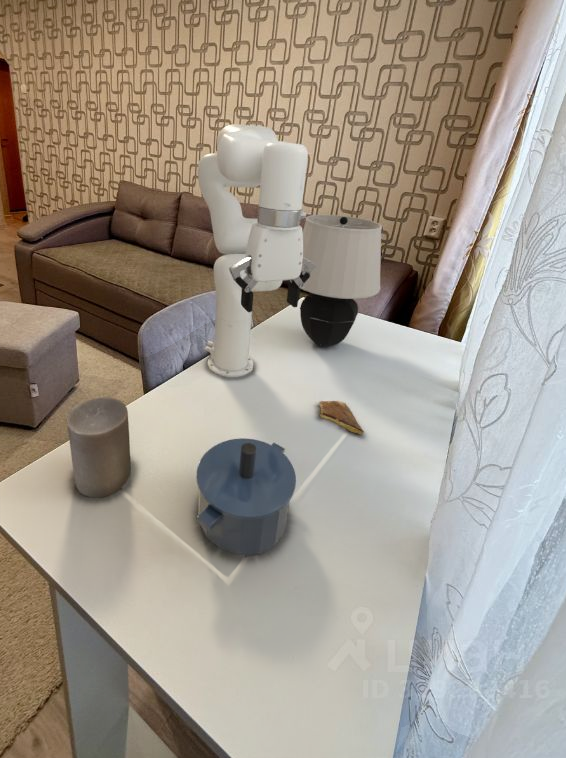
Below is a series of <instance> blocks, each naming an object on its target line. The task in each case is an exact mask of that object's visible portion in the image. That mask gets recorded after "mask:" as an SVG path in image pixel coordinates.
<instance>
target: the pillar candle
mask: <svg viewBox="0 0 566 758" xmlns="http://www.w3.org/2000/svg"><path fill="white" fill-rule="evenodd" d="M66 418H67V419H66V426H67V433H68V440H69V448H70V456H71V463H72V472H73V477H74V478H73V479H74V485H75V487H76V489H77V491H78V492H79V493H80V494H81V495H83V496H85V497H88V498H103V497H108V496H110V495H113V494H115V493H117V492H119V491H120V490H122V488H123V487H124V485H125V484H126V483H127V482H128V480H129V478H130V476H131V472H132V471H131V470H132V469H131V467H132V466H131V444H130V443H131V441H130V429H129V428H130V425H129V411H128V407H127V406H126V404H125V403H124V402H122V401H121V400H119V399H117V398H113V397H97V398H91V399H88V400H85V401H83V402H81V403H77V404H76V405H75V406H73V408H71V410H70V411H69V414H68V415H67V416H66Z"/></svg>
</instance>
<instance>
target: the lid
mask: <svg viewBox="0 0 566 758" xmlns="http://www.w3.org/2000/svg"><path fill="white" fill-rule="evenodd" d="M195 477H196V478H195V479H196V485H197V489H198V492H199V491H200V493H201V495H202V496H203V498H204V499H205V500H206V502H207V503H208V504H209V505H210V506H212V507H213V508H214V509H216V510H217V511H219V512H221V513H223V514H225V515H228V516H230V517H234V518H239V519H260V518H264V517H268V516H270V515H273V514H275V513H276V512H278V511H280V510H281V509H282V508H284V507H285V506H286V505H287V504H288V503H289V504H290V502H289V501H291V500H292V498H293V497H294V494H295V491H296V485H297V475H296V470H295V468H294V466H293V464H292V462H291V460H290V459H289V457H288V456H286V454H285V453H282V452H281V451H280V450H279V449H277V448H275V447H274V446H272V444H270V443H269V442H266V441H262V440H258V439H255V438H246V437H244V438H242V437H241V438H232V439H227V440H225V441H222V442H220V443H217V444H215V445H213V446H212V447H210V448H209V449H208V450H207V451H206V452H205V453H204V454H203V455H202V457H201V459H199V462H198V465H197V468H196V476H195Z"/></svg>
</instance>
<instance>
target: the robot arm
mask: <svg viewBox="0 0 566 758" xmlns="http://www.w3.org/2000/svg"><path fill="white" fill-rule="evenodd" d="M216 147H217V150H216V152H213V153H208V154H205V155H203V156H202V157H201V158H200V159H199V161H198V164H197V179H198V185H199V189H200V193H201V194H202V197H203V199H204V201H205V203H206V205H207V208H208V210H209V215H210V222H211V229H212V233H213V234H212V235H213V240H214V244H215V248H216V250H217V251H218V252H219V253H220V254H223V255H221V256H219V257H218V258H217V259H216V260H215V262H214V264H213V279H214V288H215V290H214V291H215V315H214V316H215V317H214V337H213V339H214V340H213V341H212V340H208V341H207V343H206V346H204V351H205V352H207V353H210V356H209V357H208V359H207V367H208V369H210V371H211V372H213V373H214V374H216V375H219V376H223V377H227V378H229V377H230V378H235V377H242V376H246V375H247V374H249V373H251V372H252V371H253V369H254V361H253V359H252V357H250V355H249V354H250V341H251V329H252V320H253V319H252V317H253V307H254V306H253V305H254V292H271V291H276V290H278V289H279V288H280V287H281V286H282V284H283V282H284V281H290V280H291V281H290V282H289V283H288V286H287V294H286V303H287V304H289V305H290V306H291V307H292V308H298V305H299V301H300V296H301V289H300V288H302V287H303V286H304V283H305V282H306V281H307V280H308V279H309V278H310V274H311V273H312V271H313V269H314V268H315V264H314V263H312V262H310V261H309V260H307V259H305V258H303V227H302V226H301V225H300V224H301V220H306V217H307V213H306V211H303V209H302V208H303V201H304V200H303V199H304V191H305V182H306V176H307V175H306V174H307V167H308V159H309V152H308V149H307V147H306V146H305V145H303V144H301V143H294V142H289V141H282V140H278V136H277V134H276V132H275V131H274V130H273V129H272V128H270V127H268V126H263V125H251V124H241V123H233V124H232V123H231V124H229V125H226V126H224V127H223V128H221V130H220V131H219V133H218V135H217V137H216ZM257 187H259V197H258V206H257V218H249V217H245V216H243V215H244V214H243V209H242V205H241V203H240V201H239V200H238V198H237V197H235V195H234V194H233V193H231V191H229V190H228V189H227V188H246V189H248V188H249V189H250V188H251V189H252V188H257ZM302 264H303V265H304V266H305V267H304V270H303V271H302V272H301V269H302ZM291 282H292V283H291Z"/></svg>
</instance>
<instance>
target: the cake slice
mask: <svg viewBox="0 0 566 758" xmlns="http://www.w3.org/2000/svg"><path fill="white" fill-rule="evenodd" d="M318 405H319V407H320V409H321V410H320V414H319V417H320V418H322V419H326V420H329V421H331V422H333V423H335V424H336V425H339V426H341V427H343V428H346V430H347V431H348V432H351V433H355V434H358V435H362V434H363V433H364V432H365V431H364V430H363V429H362V427H361V425H360V424H359V422H358V420H357V418H356V416H354V414H353V412H352V411H351V408H349V406H348V405H347V404H346V402H344V401H341V400H340V401H339V400H329V401H328V400H327V401H326V400H325V401H323V400H320V401H318Z"/></svg>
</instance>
